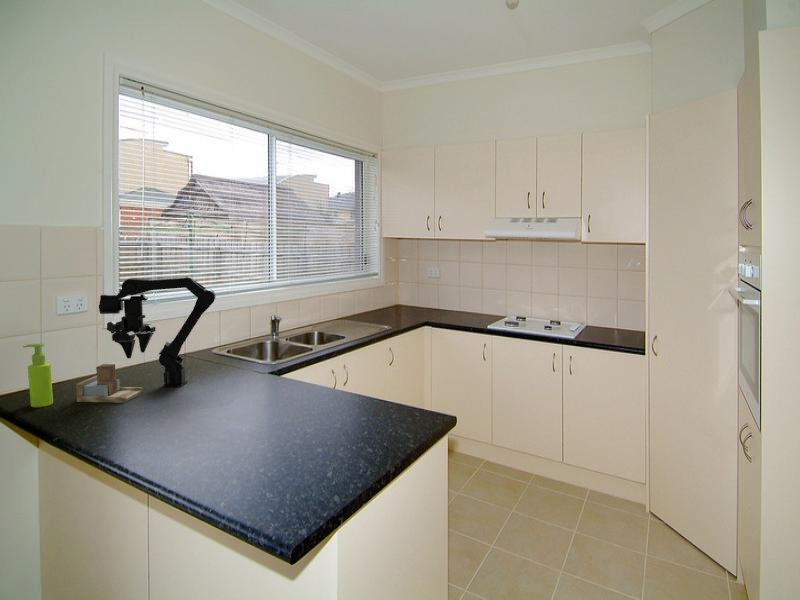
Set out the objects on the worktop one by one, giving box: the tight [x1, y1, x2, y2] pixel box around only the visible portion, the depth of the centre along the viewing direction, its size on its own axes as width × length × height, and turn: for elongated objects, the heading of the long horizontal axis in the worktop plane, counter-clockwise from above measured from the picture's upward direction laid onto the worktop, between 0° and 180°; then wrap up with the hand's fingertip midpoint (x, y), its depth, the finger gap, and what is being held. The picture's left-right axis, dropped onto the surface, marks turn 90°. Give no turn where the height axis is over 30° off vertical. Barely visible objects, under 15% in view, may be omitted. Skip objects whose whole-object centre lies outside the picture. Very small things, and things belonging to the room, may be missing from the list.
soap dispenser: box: [22, 343, 54, 408], centre depth 156 cm, size 6×7×20 cm
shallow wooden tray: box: [75, 374, 144, 404], centre depth 165 cm, size 16×11×6 cm
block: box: [84, 378, 121, 396], centre depth 165 cm, size 7×9×4 cm
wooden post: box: [95, 363, 117, 396], centre depth 165 cm, size 4×4×10 cm
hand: (136, 355), depth 175 cm, fingers open, 9 cm apart
